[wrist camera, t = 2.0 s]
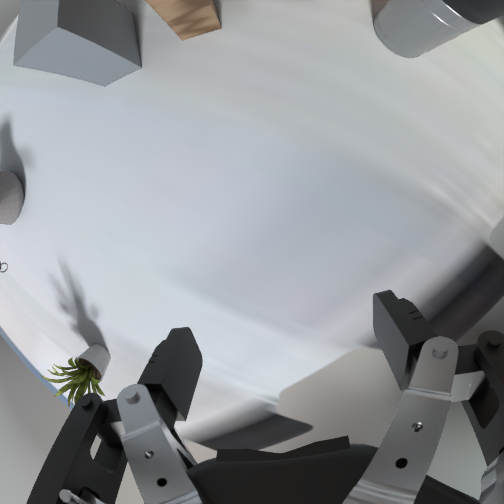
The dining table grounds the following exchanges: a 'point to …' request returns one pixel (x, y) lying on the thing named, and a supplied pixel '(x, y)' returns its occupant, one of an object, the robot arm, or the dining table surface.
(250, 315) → the dining table surface
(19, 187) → the coffee pot
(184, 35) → the stand
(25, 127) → the dining table surface
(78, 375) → the house plant
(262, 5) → the dining table surface
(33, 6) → the pedestal
